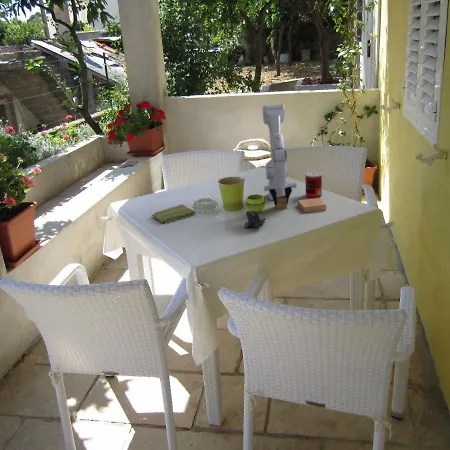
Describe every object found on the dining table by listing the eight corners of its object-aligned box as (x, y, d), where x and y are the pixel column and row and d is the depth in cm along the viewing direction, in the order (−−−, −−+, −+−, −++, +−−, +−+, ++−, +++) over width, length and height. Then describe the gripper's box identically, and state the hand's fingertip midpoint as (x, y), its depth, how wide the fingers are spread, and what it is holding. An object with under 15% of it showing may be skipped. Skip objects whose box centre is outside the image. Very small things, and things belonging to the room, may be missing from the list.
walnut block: (275, 206, 224) (274, 196, 222) (284, 205, 225) (284, 195, 223) (277, 209, 220) (277, 199, 218) (287, 208, 221) (286, 198, 219)
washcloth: (150, 218, 223) (149, 211, 222) (184, 209, 232) (183, 202, 231) (162, 226, 213) (162, 219, 212) (197, 216, 221) (197, 209, 220)
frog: (252, 232, 197) (251, 216, 194) (238, 225, 206) (237, 209, 203) (271, 227, 201) (270, 211, 198) (256, 220, 210) (255, 204, 207)
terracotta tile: (297, 205, 223) (297, 200, 222) (319, 203, 224) (318, 197, 223) (304, 212, 214) (304, 207, 213) (326, 209, 215) (326, 204, 214)
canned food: (321, 193, 238) (321, 171, 234) (322, 198, 230) (322, 175, 226) (305, 193, 239) (304, 172, 235) (306, 198, 231) (305, 176, 227)
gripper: (265, 179, 212) (267, 208, 217) (298, 176, 214) (298, 205, 219) (262, 175, 219) (263, 203, 224) (293, 172, 220) (294, 200, 225)
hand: (280, 204), depth 222 cm, fingers closed on walnut block, 4 cm apart
